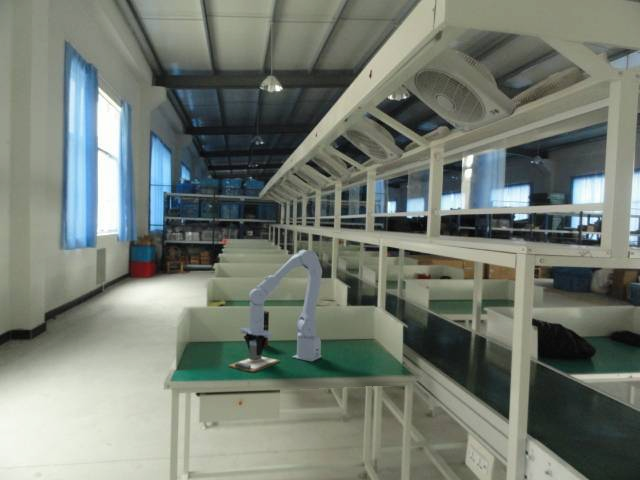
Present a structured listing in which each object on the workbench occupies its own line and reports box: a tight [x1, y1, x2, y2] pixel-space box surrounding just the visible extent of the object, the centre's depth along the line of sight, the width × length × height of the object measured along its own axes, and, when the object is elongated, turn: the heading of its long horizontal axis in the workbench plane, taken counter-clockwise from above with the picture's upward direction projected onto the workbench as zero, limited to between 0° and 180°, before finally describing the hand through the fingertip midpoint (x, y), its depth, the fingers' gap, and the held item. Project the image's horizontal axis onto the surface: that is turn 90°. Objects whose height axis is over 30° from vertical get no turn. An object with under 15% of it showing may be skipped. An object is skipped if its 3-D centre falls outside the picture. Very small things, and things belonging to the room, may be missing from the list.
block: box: [248, 340, 263, 360], centre depth 162 cm, size 4×4×7 cm
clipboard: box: [228, 356, 281, 373], centre depth 157 cm, size 12×16×2 cm
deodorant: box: [256, 310, 270, 348], centre depth 185 cm, size 6×6×15 cm
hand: (255, 353), depth 162 cm, fingers closed on block, 3 cm apart
